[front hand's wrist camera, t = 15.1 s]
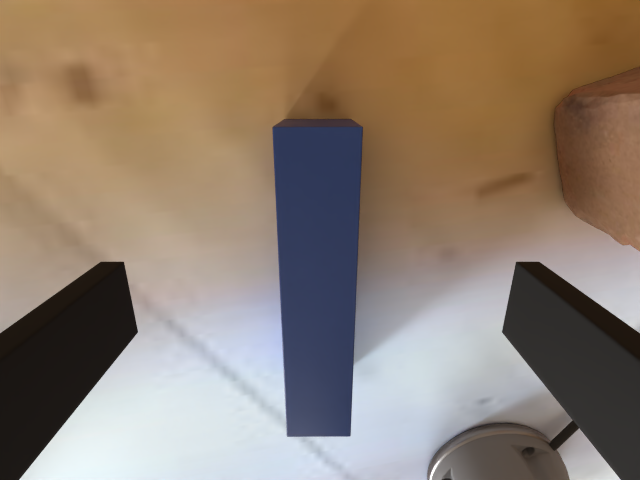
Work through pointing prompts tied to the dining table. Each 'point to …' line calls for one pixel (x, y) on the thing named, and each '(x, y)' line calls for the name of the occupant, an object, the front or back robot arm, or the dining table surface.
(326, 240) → the bar
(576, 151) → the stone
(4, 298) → the dining table surface
